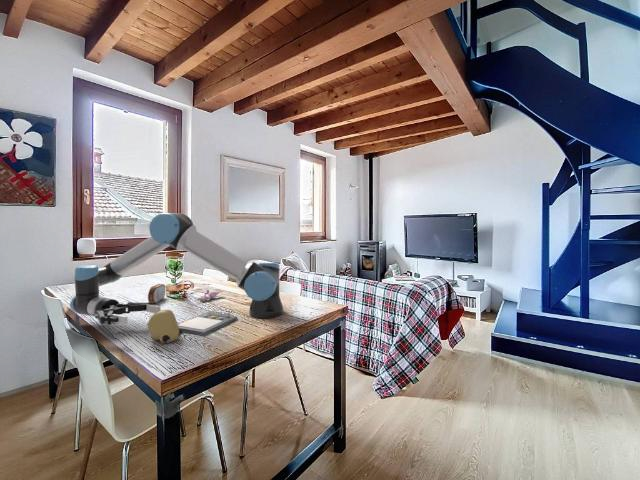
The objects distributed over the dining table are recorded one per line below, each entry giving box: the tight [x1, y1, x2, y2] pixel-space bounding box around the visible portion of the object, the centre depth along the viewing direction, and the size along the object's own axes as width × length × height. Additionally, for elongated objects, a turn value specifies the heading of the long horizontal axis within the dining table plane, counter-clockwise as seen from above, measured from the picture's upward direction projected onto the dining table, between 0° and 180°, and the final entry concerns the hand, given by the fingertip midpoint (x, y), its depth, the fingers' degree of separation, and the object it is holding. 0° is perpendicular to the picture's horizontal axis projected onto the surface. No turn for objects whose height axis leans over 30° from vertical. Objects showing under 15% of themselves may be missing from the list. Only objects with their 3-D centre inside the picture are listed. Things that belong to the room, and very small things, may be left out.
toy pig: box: [146, 309, 183, 344], centre depth 110 cm, size 10×12×11 cm
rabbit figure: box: [196, 289, 223, 303], centre depth 164 cm, size 6×6×15 cm
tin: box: [147, 283, 167, 304], centre depth 160 cm, size 15×3×8 cm, turn 4°
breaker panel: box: [177, 309, 238, 336], centre depth 126 cm, size 16×20×3 cm
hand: (144, 315), depth 113 cm, fingers open, 13 cm apart
